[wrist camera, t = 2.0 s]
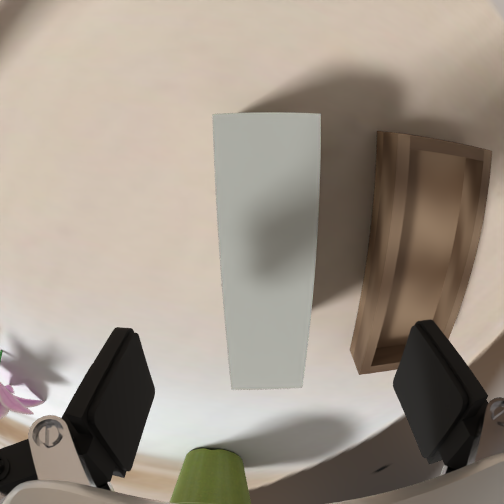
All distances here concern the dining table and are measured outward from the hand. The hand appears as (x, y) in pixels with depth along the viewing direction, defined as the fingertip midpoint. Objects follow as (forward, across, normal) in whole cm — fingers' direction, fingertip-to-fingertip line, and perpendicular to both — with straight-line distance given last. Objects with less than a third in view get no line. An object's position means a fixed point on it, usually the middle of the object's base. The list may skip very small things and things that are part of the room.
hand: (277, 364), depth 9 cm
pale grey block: (+11, 0, -1) cm, 11 cm away
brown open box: (+11, -11, +1) cm, 16 cm away
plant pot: (+12, +6, +29) cm, 32 cm away
